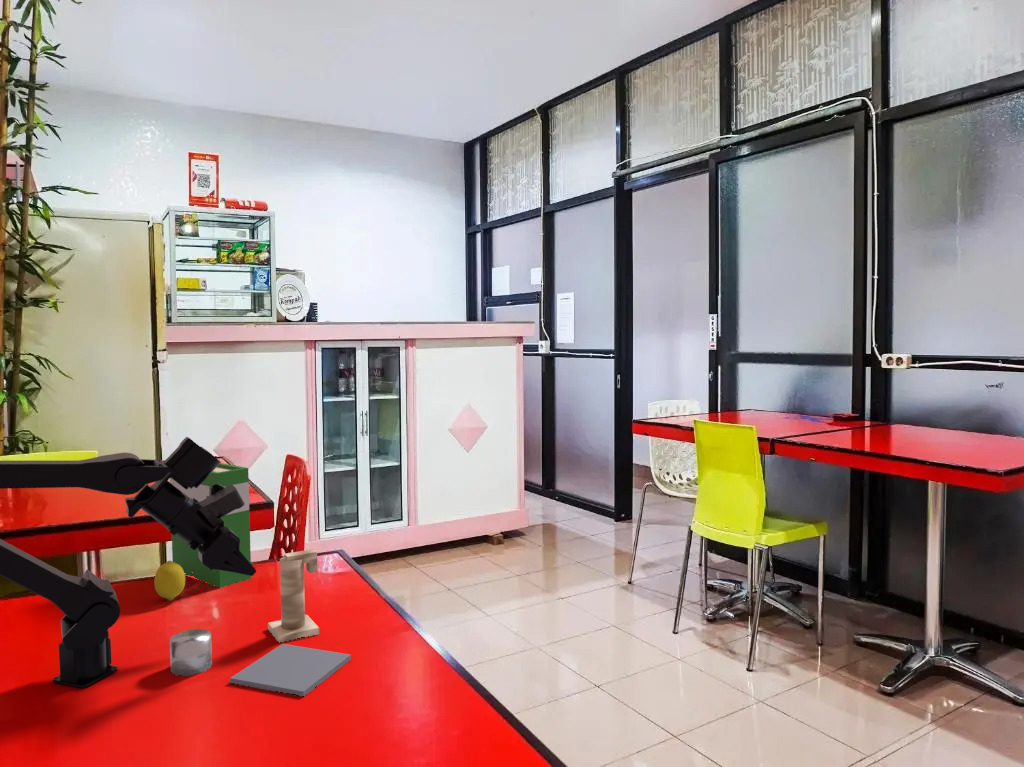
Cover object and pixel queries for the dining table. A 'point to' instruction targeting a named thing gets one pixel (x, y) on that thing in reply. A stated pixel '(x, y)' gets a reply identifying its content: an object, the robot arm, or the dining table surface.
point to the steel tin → (190, 652)
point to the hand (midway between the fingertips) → (248, 565)
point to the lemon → (169, 580)
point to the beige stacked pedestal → (294, 597)
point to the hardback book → (233, 520)
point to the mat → (291, 669)
